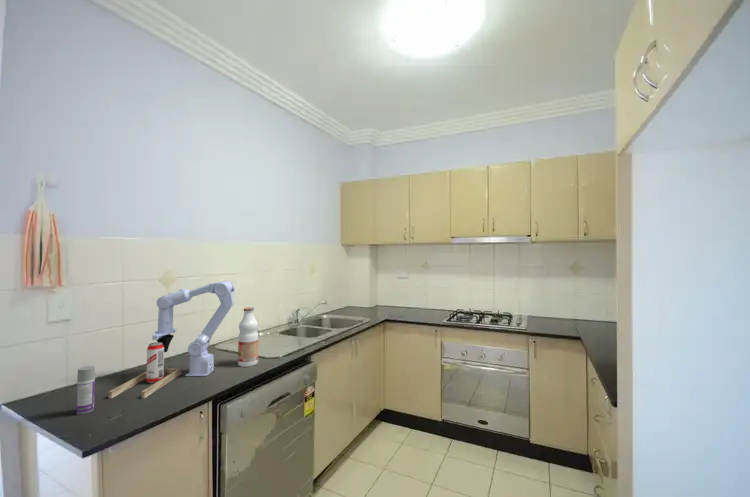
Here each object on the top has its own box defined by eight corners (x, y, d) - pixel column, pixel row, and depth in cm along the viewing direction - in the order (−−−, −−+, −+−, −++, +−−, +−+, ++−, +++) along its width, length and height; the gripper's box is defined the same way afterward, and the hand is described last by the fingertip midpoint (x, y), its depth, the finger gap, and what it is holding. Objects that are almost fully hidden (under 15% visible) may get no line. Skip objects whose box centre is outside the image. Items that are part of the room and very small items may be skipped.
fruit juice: (250, 367, 159) (251, 309, 160) (233, 366, 161) (234, 309, 162) (261, 361, 168) (262, 306, 169) (245, 360, 170) (246, 306, 171)
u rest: (181, 374, 150) (181, 368, 150) (144, 398, 125) (144, 391, 125) (151, 374, 150) (151, 368, 150) (108, 398, 125) (108, 391, 125)
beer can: (154, 384, 138) (155, 346, 138) (142, 383, 139) (143, 345, 140) (167, 378, 144) (167, 342, 144) (155, 377, 145) (155, 341, 146)
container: (83, 408, 117) (84, 365, 117) (97, 407, 117) (98, 365, 117) (72, 414, 112) (73, 370, 112) (87, 414, 112) (88, 370, 113)
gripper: (166, 318, 156) (164, 347, 156) (145, 324, 142) (144, 356, 142) (181, 318, 157) (179, 347, 156) (162, 325, 142) (160, 357, 142)
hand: (164, 351), depth 149 cm, fingers closed
